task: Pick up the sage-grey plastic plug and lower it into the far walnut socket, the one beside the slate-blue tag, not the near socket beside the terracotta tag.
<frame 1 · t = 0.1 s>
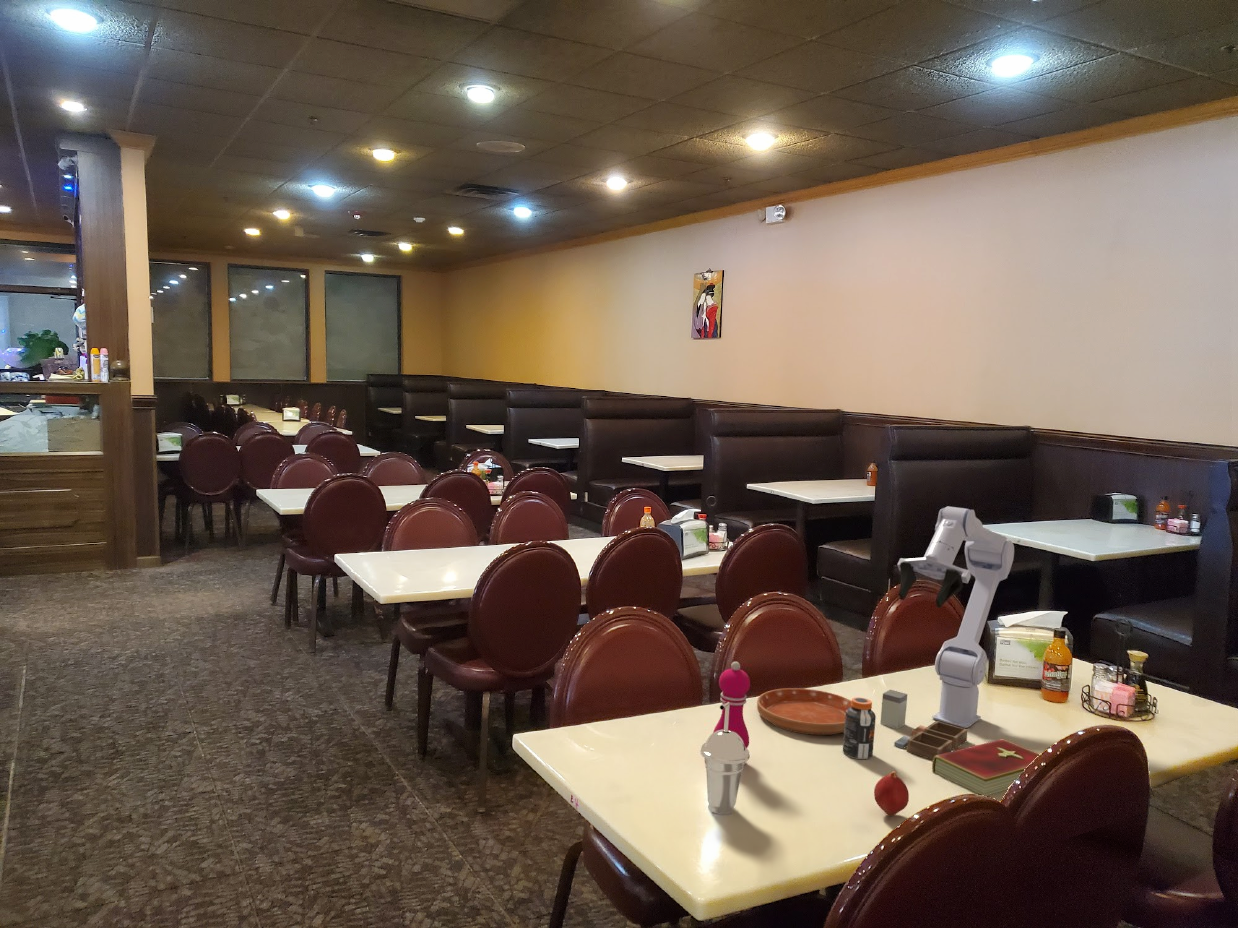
hand: (919, 600, 182), 32 cm above the table, tool tilted 50°, fingers open, 7 cm apart
hardcover book: (992, 777, 176), on the table
pill bottle: (857, 754, 183), on the table
plug: (892, 724, 201), on the table
socket stand: (937, 745, 189), on the table
saucer: (807, 721, 201), on the table
pepper mill: (729, 762, 176), on the table
onion: (889, 816, 157), on the table
cup with straw: (720, 809, 155), on the table
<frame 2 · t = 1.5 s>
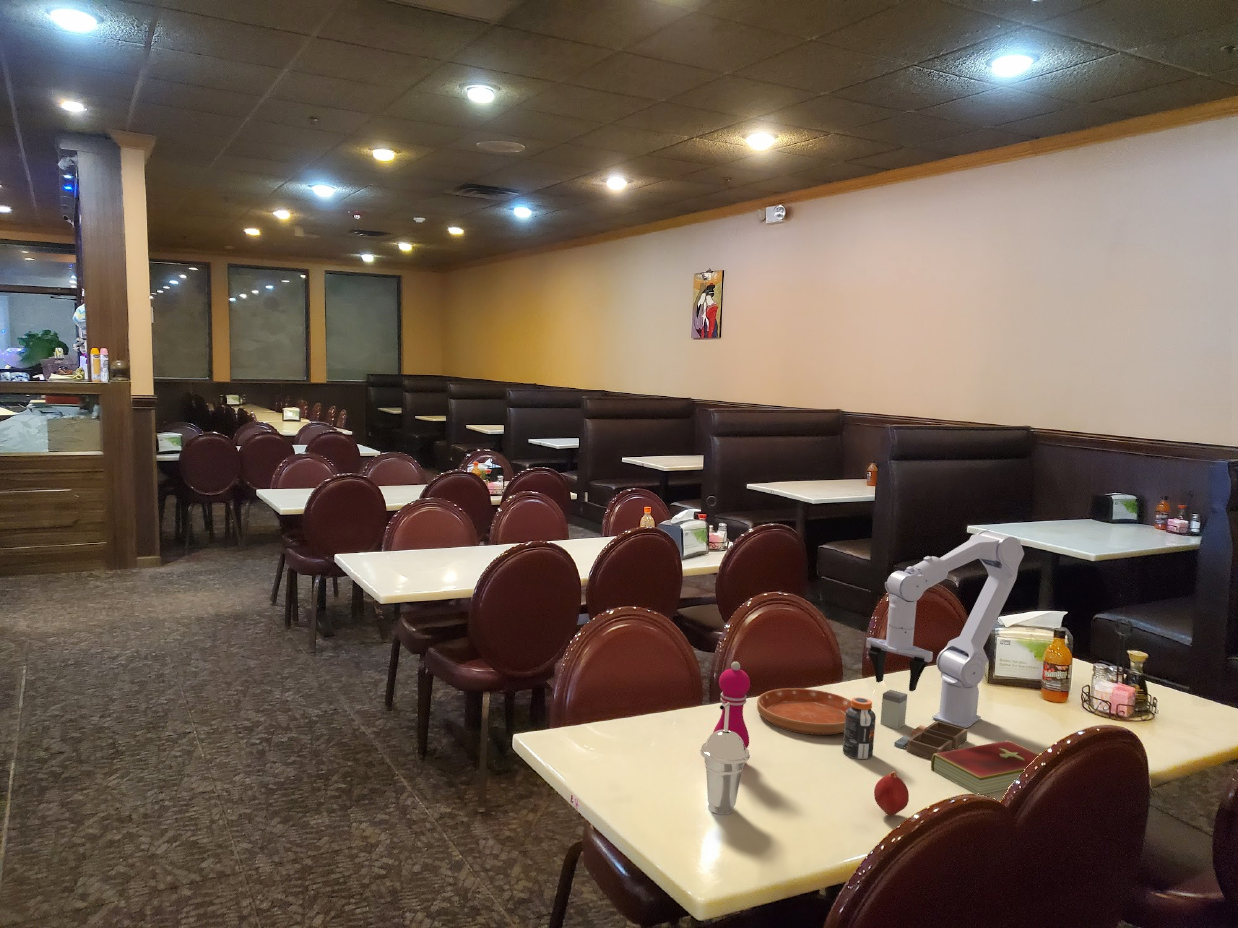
hand: (895, 685, 200), 9 cm above the table, tool pointing down, fingers open, 7 cm apart
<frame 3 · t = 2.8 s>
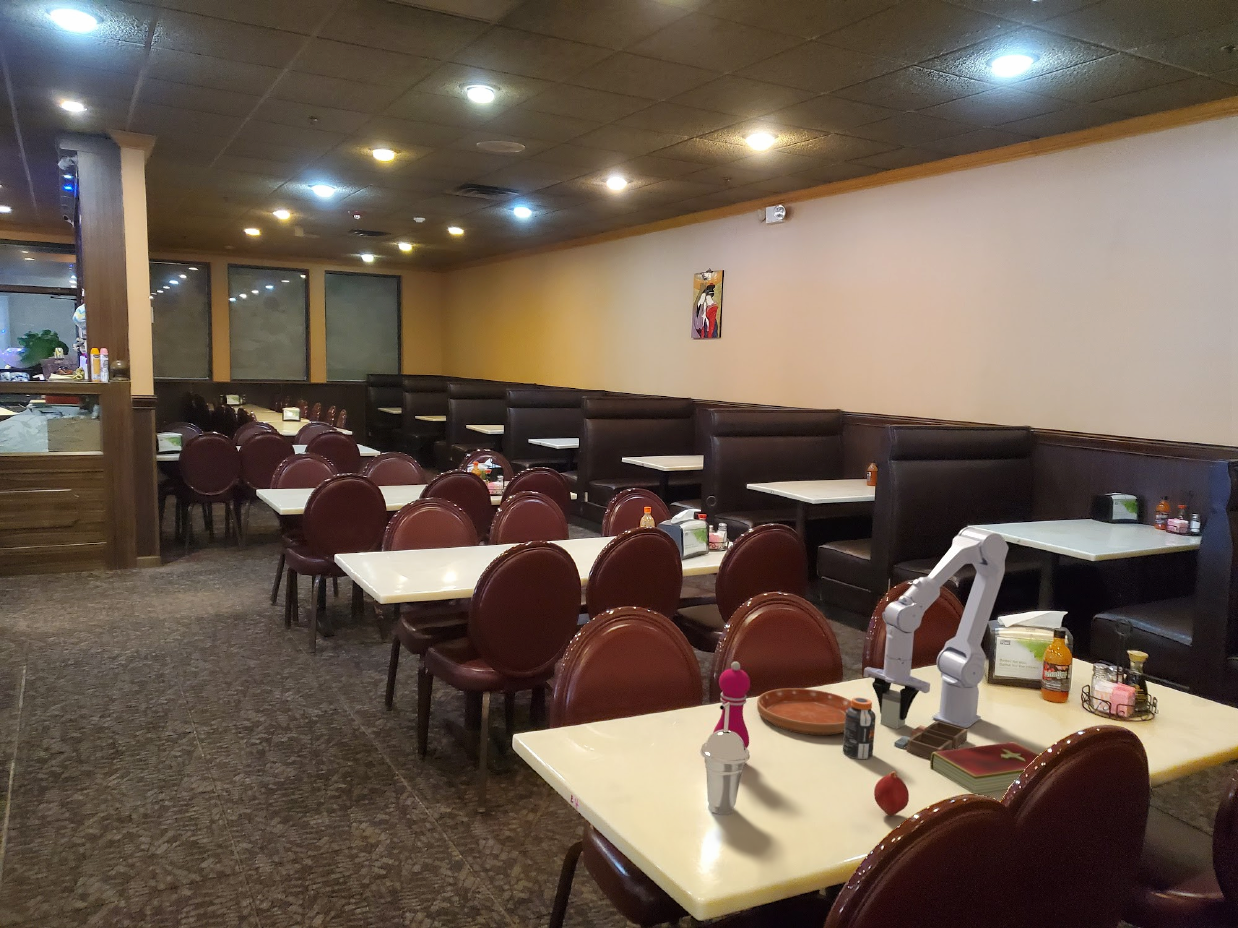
hand: (893, 715, 201), 2 cm above the table, tool pointing down, fingers closed on plug, 4 cm apart
plug: (892, 723, 201), on the table, touching gripper
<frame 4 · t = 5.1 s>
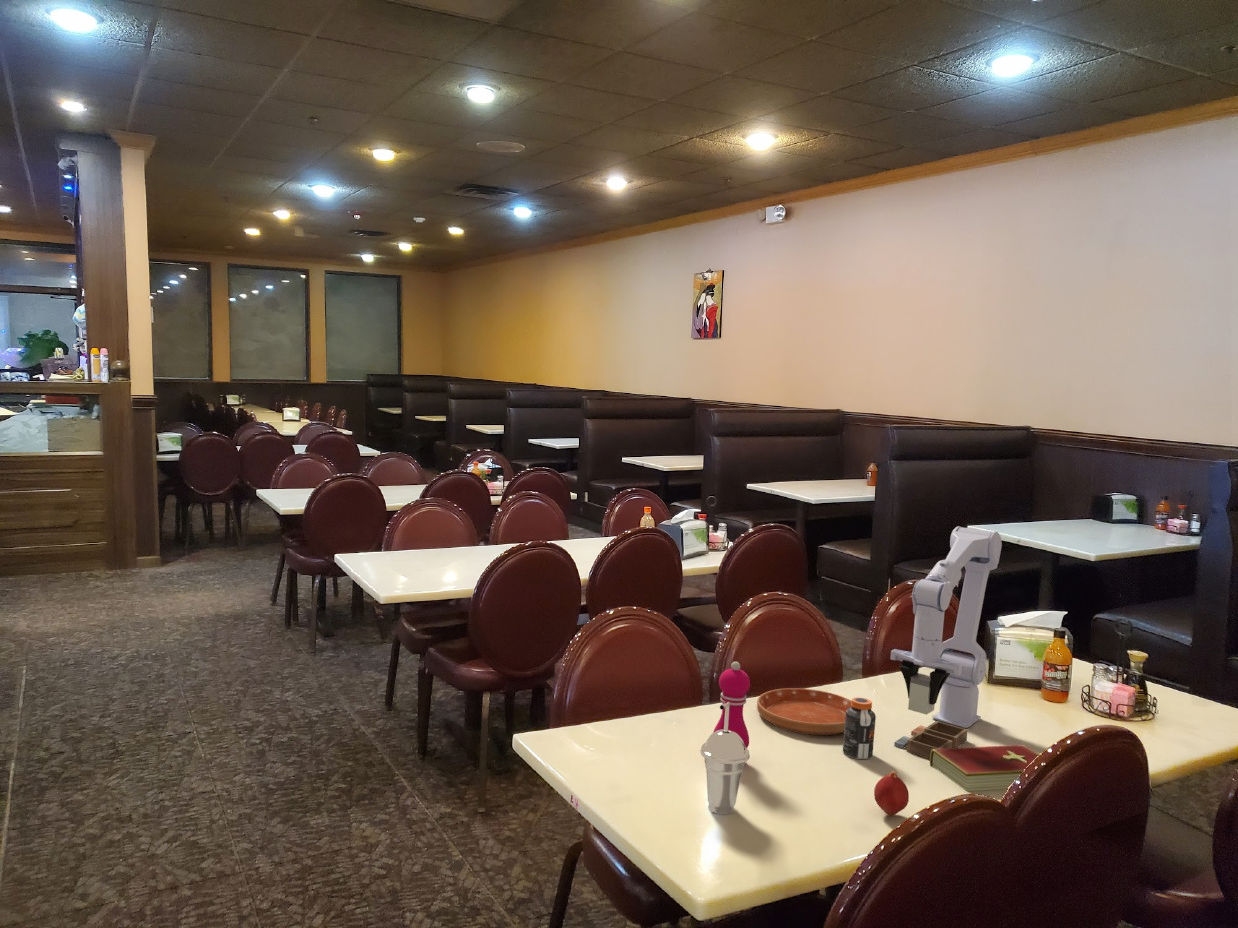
hand: (922, 700, 189), 9 cm above the table, tool pointing down, fingers closed on plug, 4 cm apart
plug: (921, 709, 189), point 7 cm above the table, touching gripper
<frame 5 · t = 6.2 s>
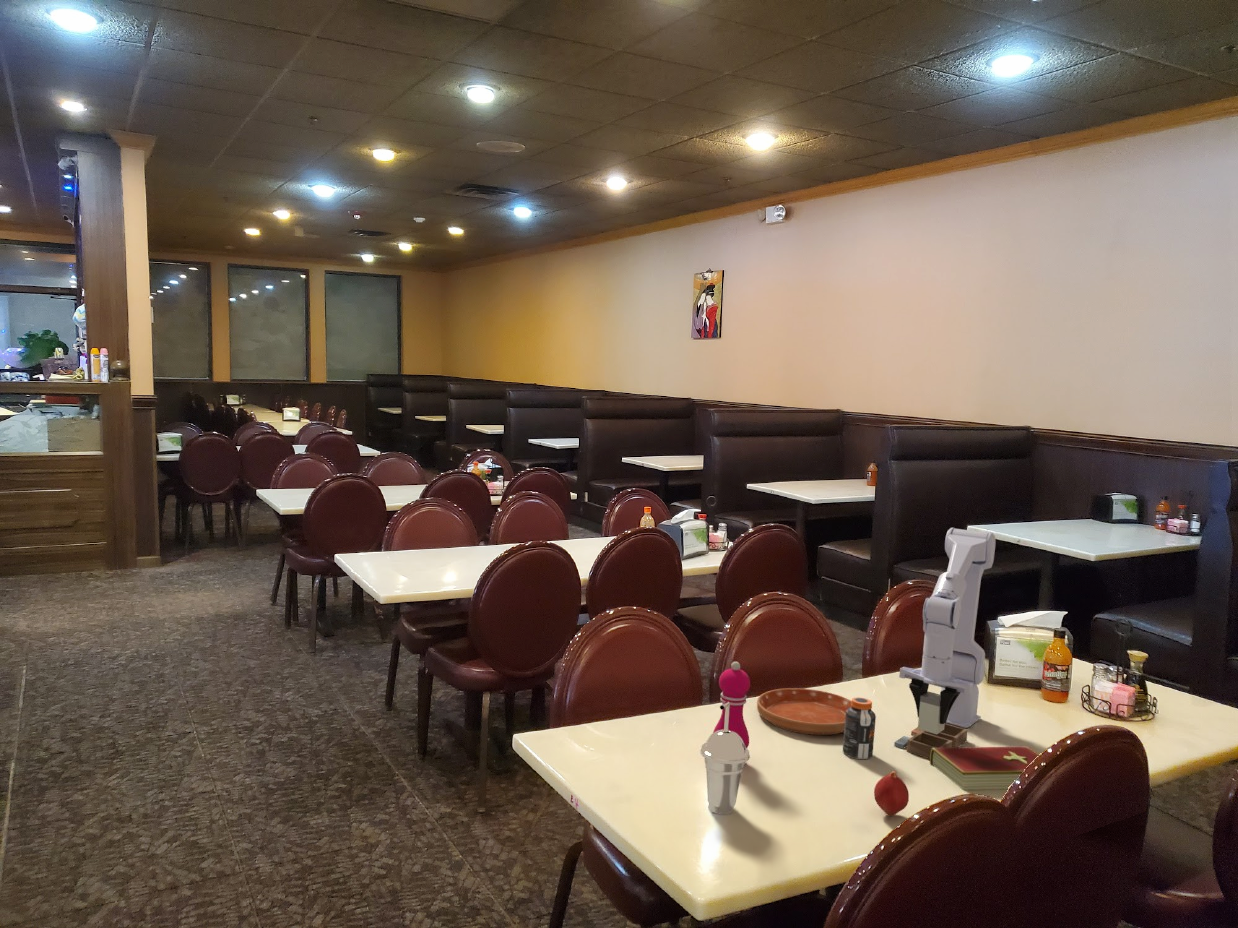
hand: (931, 719, 185), 7 cm above the table, tool pointing down, fingers closed on plug, 4 cm apart
plug: (930, 728, 185), point 5 cm above the table, touching gripper
when the fingers open (3 cm above the table, at t = 7.4 s): plug drops 1 cm, resting in socket stand.
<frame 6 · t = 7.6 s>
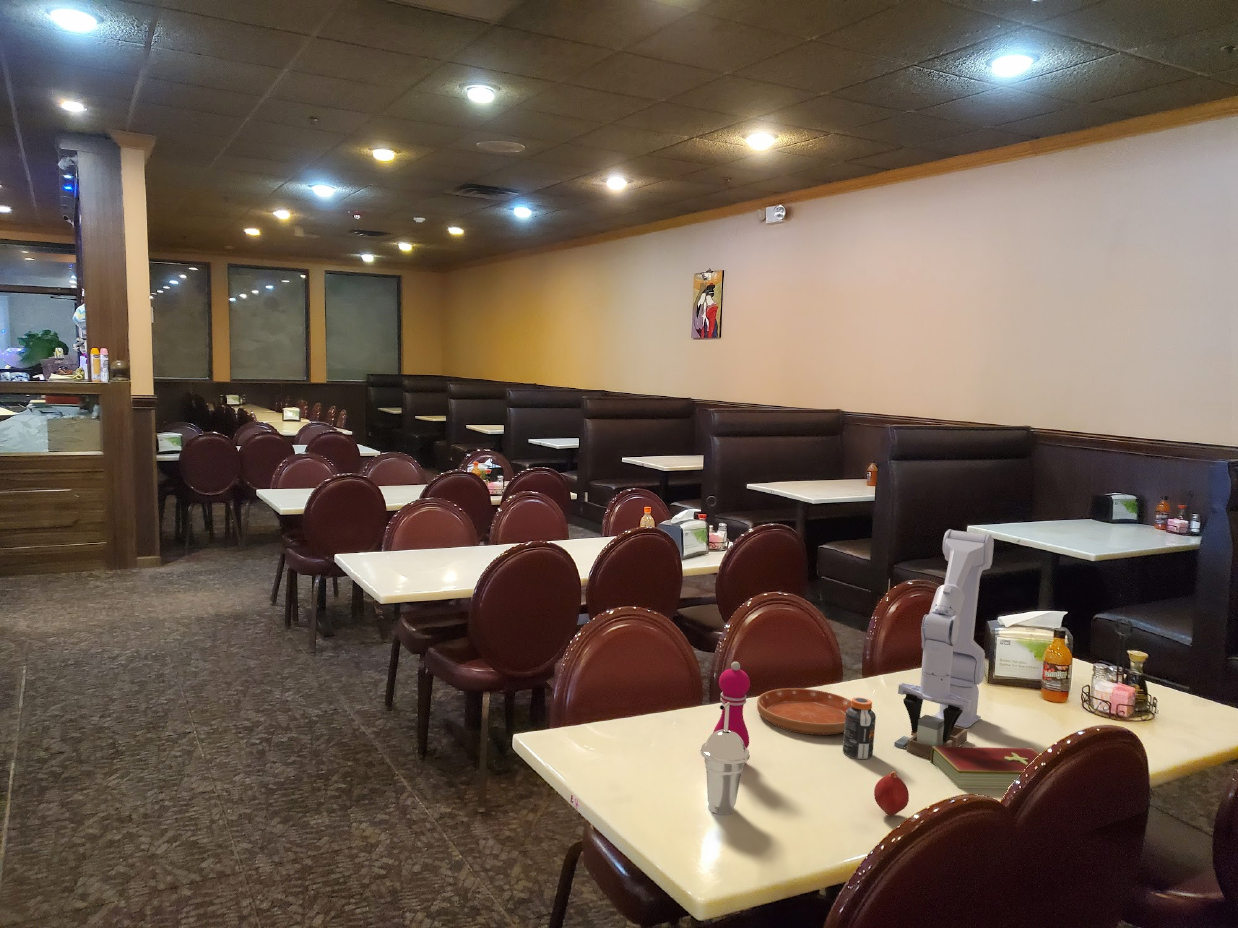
hand: (930, 735, 186), 3 cm above the table, tool pointing down, fingers open, 6 cm apart
plug: (928, 752, 186), resting in socket stand
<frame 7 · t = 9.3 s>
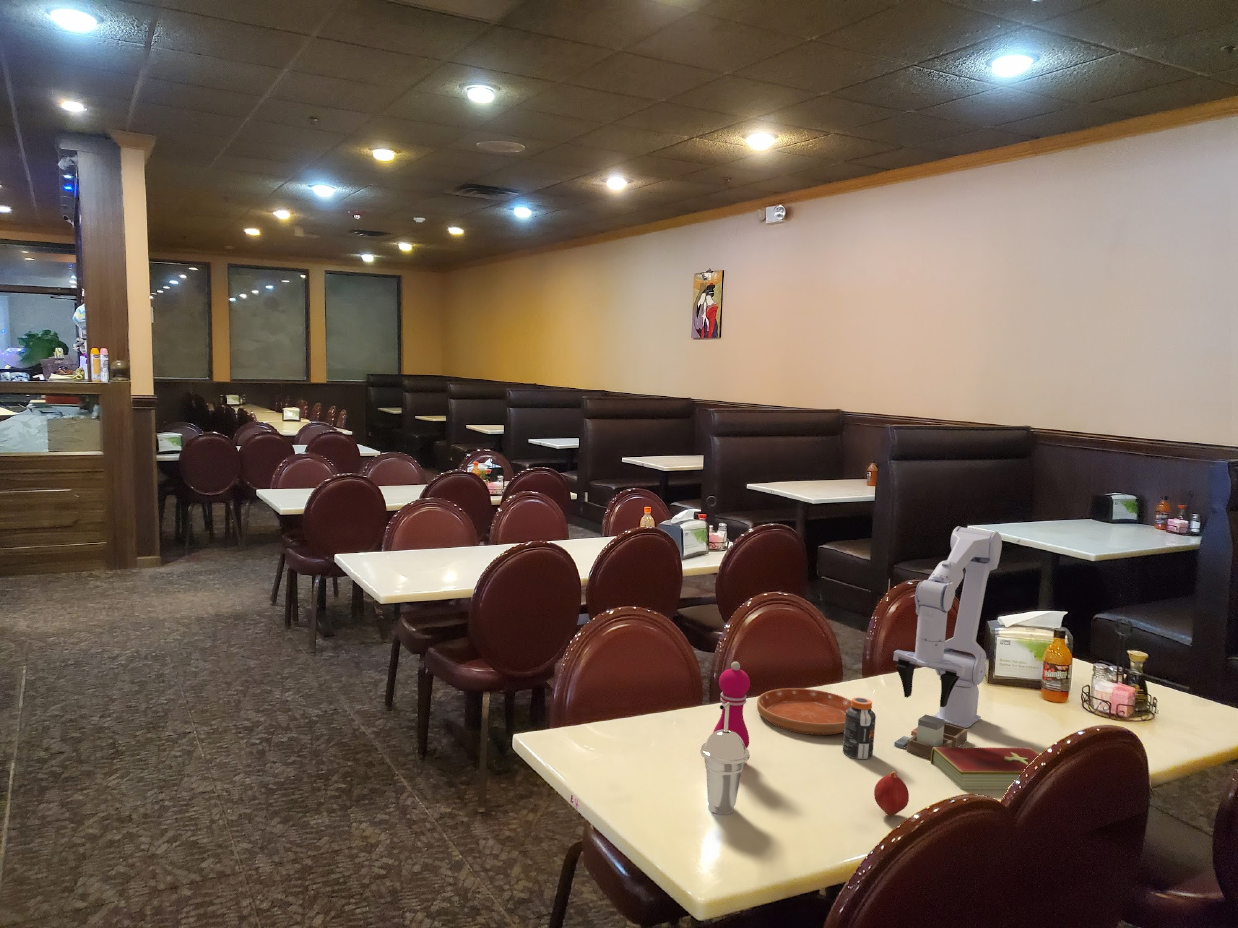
hand: (925, 700, 190), 9 cm above the table, tool pointing down, fingers open, 7 cm apart
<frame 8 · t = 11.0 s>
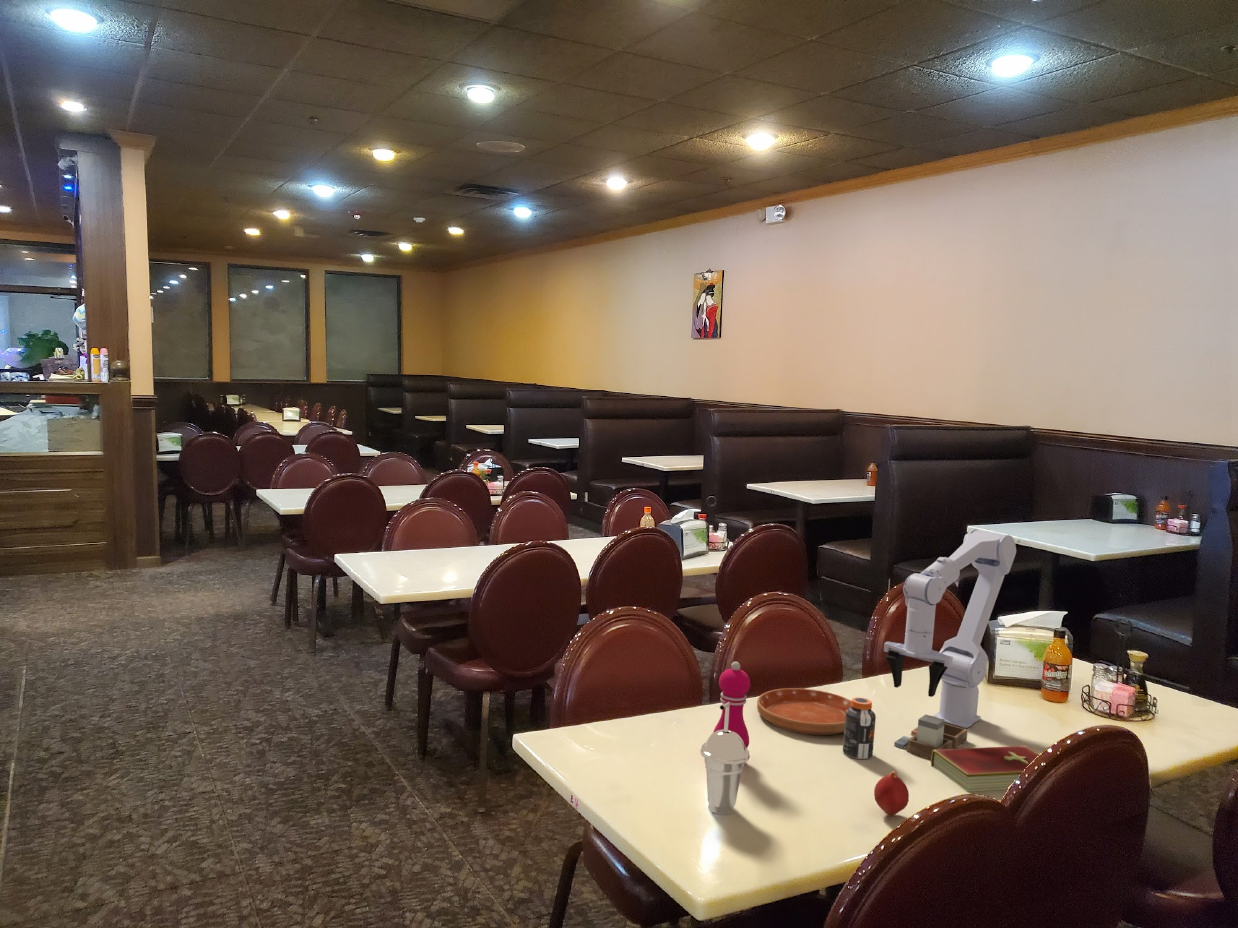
hand: (914, 690, 195), 9 cm above the table, tool pointing down, fingers open, 7 cm apart
at the end: plug 0.1 cm from the target spot on the socket stand, point 0.0 cm above the socket stand's base; plug tilted 0°; the gripper is holding nothing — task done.
